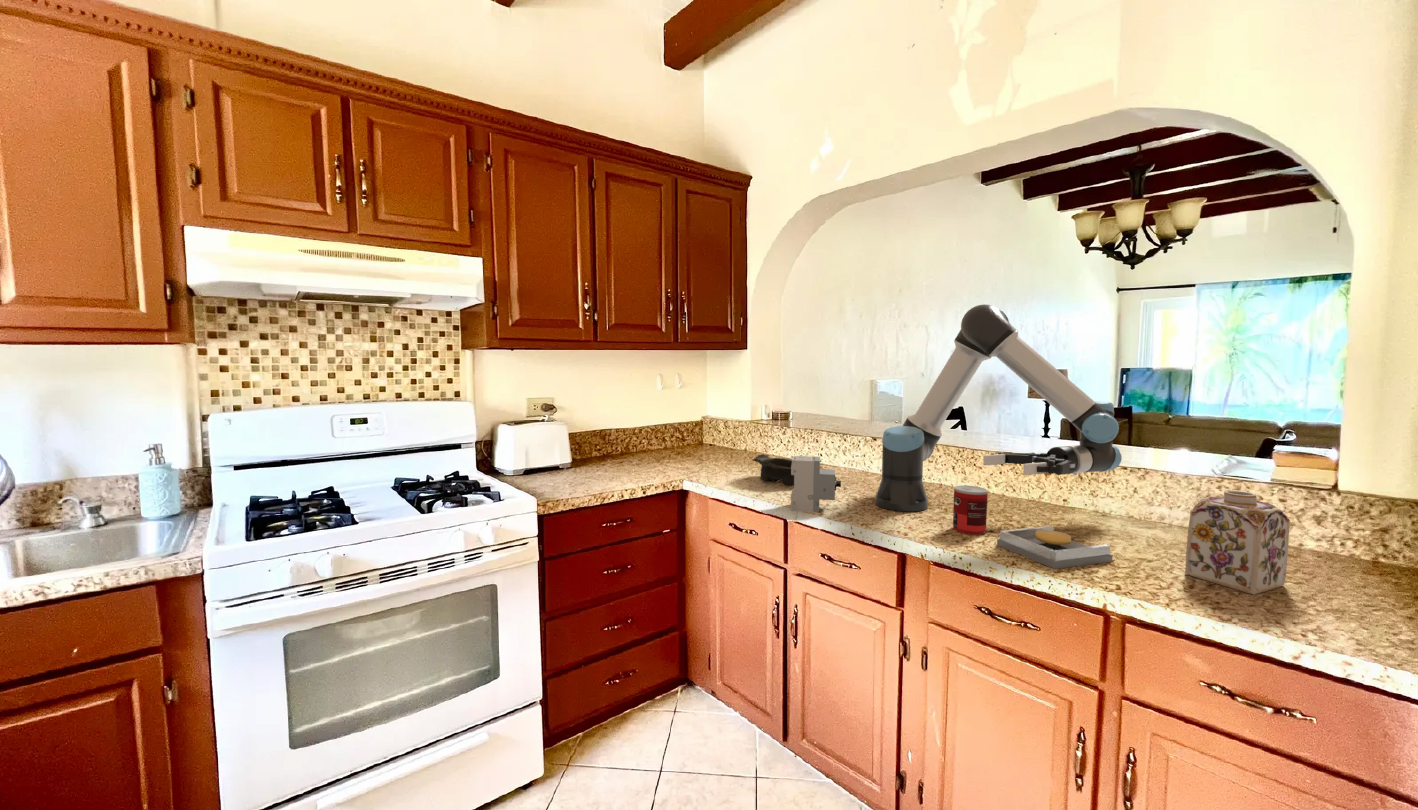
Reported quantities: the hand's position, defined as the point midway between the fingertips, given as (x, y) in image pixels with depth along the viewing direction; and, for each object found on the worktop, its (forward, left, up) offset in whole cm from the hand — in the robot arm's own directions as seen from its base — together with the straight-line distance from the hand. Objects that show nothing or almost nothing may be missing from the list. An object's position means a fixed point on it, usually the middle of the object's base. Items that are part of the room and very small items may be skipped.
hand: (1003, 464), depth 149 cm
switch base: (+6, -19, -17) cm, 26 cm away
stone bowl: (-61, +43, -17) cm, 76 cm away
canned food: (-9, -5, -17) cm, 20 cm away
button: (+6, -19, -15) cm, 25 cm away
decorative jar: (+36, -28, -17) cm, 49 cm away
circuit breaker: (-49, +7, -17) cm, 52 cm away
